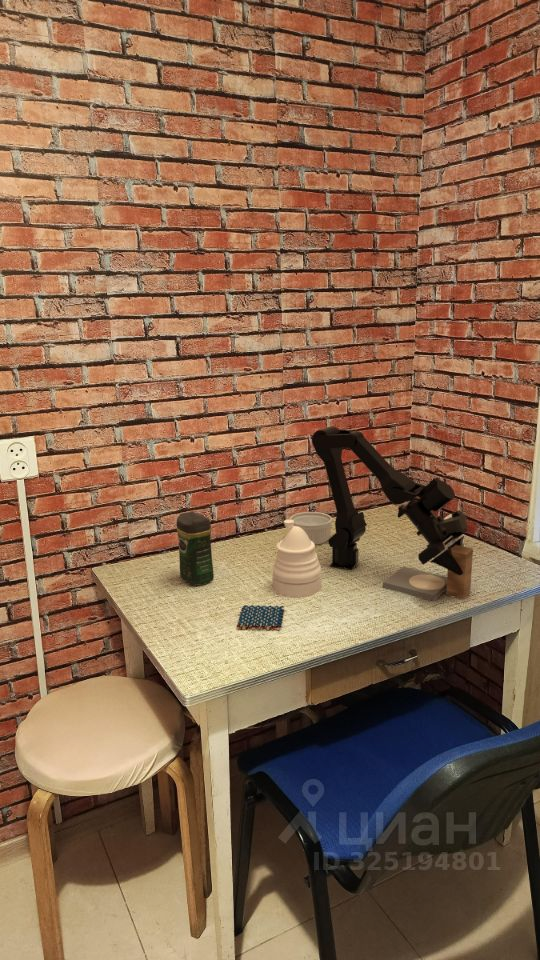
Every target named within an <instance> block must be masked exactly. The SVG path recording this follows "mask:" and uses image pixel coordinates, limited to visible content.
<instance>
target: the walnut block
mask: <svg viewBox="0 0 540 960" xmlns="http://www.w3.org/2000/svg"><path fill="white" fill-rule="evenodd" d="M451 554H452V556H453V558H454V559H455V561H456V562H457V564H458V565H459V567H460V568H461V570H462V572H463V574H461V575H458V574H456V573H454V572H452V571H450V570H448V569H447V573H446V574H447V575H446V577H447V589H446V590H445V591H446V594H445V595H447V596H448V597H452V596H453V598H456V597H457V598H456V599H460V598H461V599H460V600H465V599H466V598H467V596H468V595H470V594H471V590H472V589H471V587H472V574H473V573H472V572H473V556H474V549H473V548H472V547H467V546H464V547H463V546H458V545H455V546H454V547H452V548H451ZM465 597H466V598H465ZM464 598H465V599H464Z"/></svg>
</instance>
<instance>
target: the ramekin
mask: <svg viewBox="0 0 540 960" xmlns="http://www.w3.org/2000/svg"><path fill="white" fill-rule="evenodd" d="M289 520H293V521H294V524H293V526H298V527H300V528H302V529H303V530H304V531H305V533H306V534H307V535H308V537H309V539H310V541H312V542H313V543H314V544H315V546H316V545H321V544H324V543H327V542H328V539H329V538H330V537H331V529H332V524H333V518H332V515H329V514H326V513H323V512H320V511H319V512H318V511H305V512H304V511H302V512H297V513H295V514H292V515H291V516H290V517H289Z"/></svg>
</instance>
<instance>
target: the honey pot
mask: <svg viewBox="0 0 540 960" xmlns="http://www.w3.org/2000/svg"><path fill="white" fill-rule="evenodd" d="M293 524H294V521H293V520H290V519H284V521H283V525H284V526H285V528H286V529H289V530H288V531H287V532H286V534H285V535H284V538H283V539H282V540H280V541H278V542H277V543H276V550H277V552H278V553H277V554H276V556H275V560H274V564H273V566H272V570H271V571H272V589H273V590H274V592H275V593H277V594H279V595H281V596H283V597H288V598H305V597H310V596H313V595H315V594H317V593H319V592H320V591H321V590H322V586H323V585H322V584H323V583H322V582H323V581H322V577H323V576H322V566H321V564H320V562H319V561H320V560H319V557H318V554H317V553H316V551H315V548H316V545H315V544H314V543H313V542H312V541H310V539H309V537H308V535H307V534H306V533H305V531H304V530H303V529H302V528H300V527H298V526H293Z"/></svg>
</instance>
